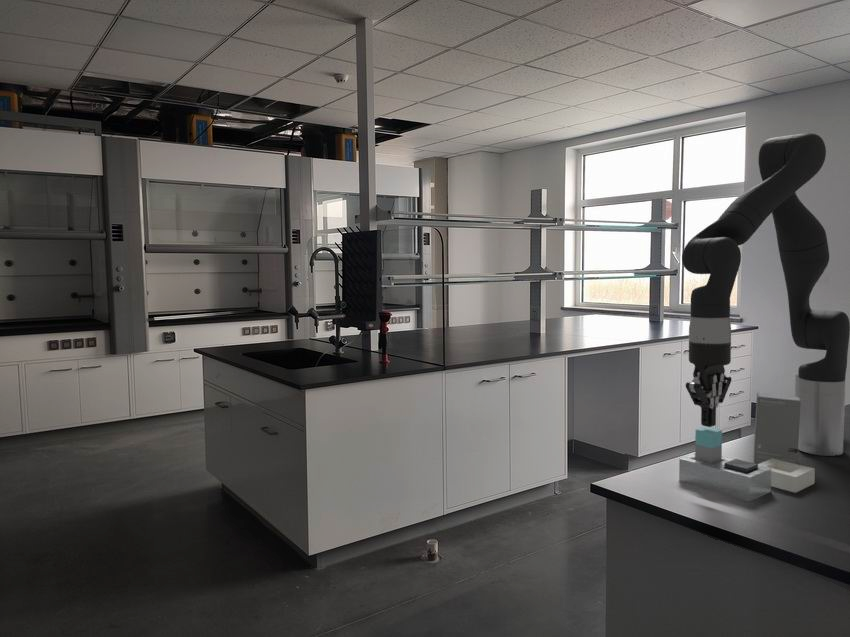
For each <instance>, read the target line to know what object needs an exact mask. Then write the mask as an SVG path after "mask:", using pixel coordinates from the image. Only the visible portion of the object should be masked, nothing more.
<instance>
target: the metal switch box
mask: <svg viewBox="0 0 850 637" xmlns="http://www.w3.org/2000/svg"><path fill="white" fill-rule="evenodd" d="M678 462H679V463H678V464H679V469H678V470H679V471H678V472H679V473H678V478H679V480H678V481H680V482H683V483H686V484H689V485H692V486H696V487H700V488H703V489H706V490H709V491H713V492H716V493H719V494H723V495H726V496H729V497H733V498H736V499H738V500H743V501H746V502H752V501H754V500H757V499H759V498H761V497H763V496H765V495H767V494H770V493H771V492H772V486H771V471H772V469H771V468H767V467H763V466H759V465H758V464H755V463H754V462H750V461H748V460H747V461H746V460H743V459H742V460H741V459H738V458H731V457H726V456H723V455H722V461H721V462H719V463H716V464H713V465H712V464H709V463H705V462H703V461H700V460H695V453H692V454H690V455H686V456H683V457H681V458H679V461H678Z"/></svg>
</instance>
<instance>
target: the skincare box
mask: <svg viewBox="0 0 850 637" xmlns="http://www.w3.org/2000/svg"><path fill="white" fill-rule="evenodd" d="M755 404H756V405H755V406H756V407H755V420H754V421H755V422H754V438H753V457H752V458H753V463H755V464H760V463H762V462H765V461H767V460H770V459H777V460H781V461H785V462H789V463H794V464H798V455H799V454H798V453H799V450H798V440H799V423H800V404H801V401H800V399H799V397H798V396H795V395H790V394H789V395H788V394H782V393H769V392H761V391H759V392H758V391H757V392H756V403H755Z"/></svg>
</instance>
